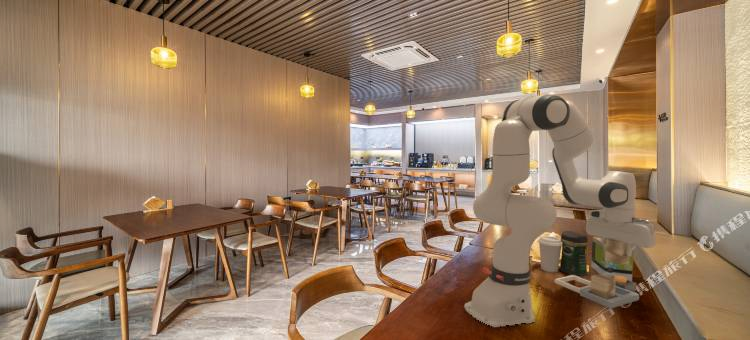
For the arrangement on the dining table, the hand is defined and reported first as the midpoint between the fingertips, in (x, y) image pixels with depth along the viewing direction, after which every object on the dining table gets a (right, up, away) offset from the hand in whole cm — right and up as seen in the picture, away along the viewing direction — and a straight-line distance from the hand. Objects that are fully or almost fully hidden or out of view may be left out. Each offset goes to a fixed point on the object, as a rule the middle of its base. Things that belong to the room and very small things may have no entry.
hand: (617, 253), depth 106 cm
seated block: (-7, -16, -2) cm, 17 cm away
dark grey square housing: (+7, -17, +7) cm, 19 cm away
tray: (-8, -16, +9) cm, 21 cm away
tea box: (+16, -16, +23) cm, 32 cm away
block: (0, -3, 0) cm, 3 cm away
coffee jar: (0, -16, +23) cm, 28 cm away
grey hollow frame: (-3, -17, -1) cm, 17 cm away
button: (+7, -15, +7) cm, 18 cm away
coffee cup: (-9, -16, +26) cm, 32 cm away
